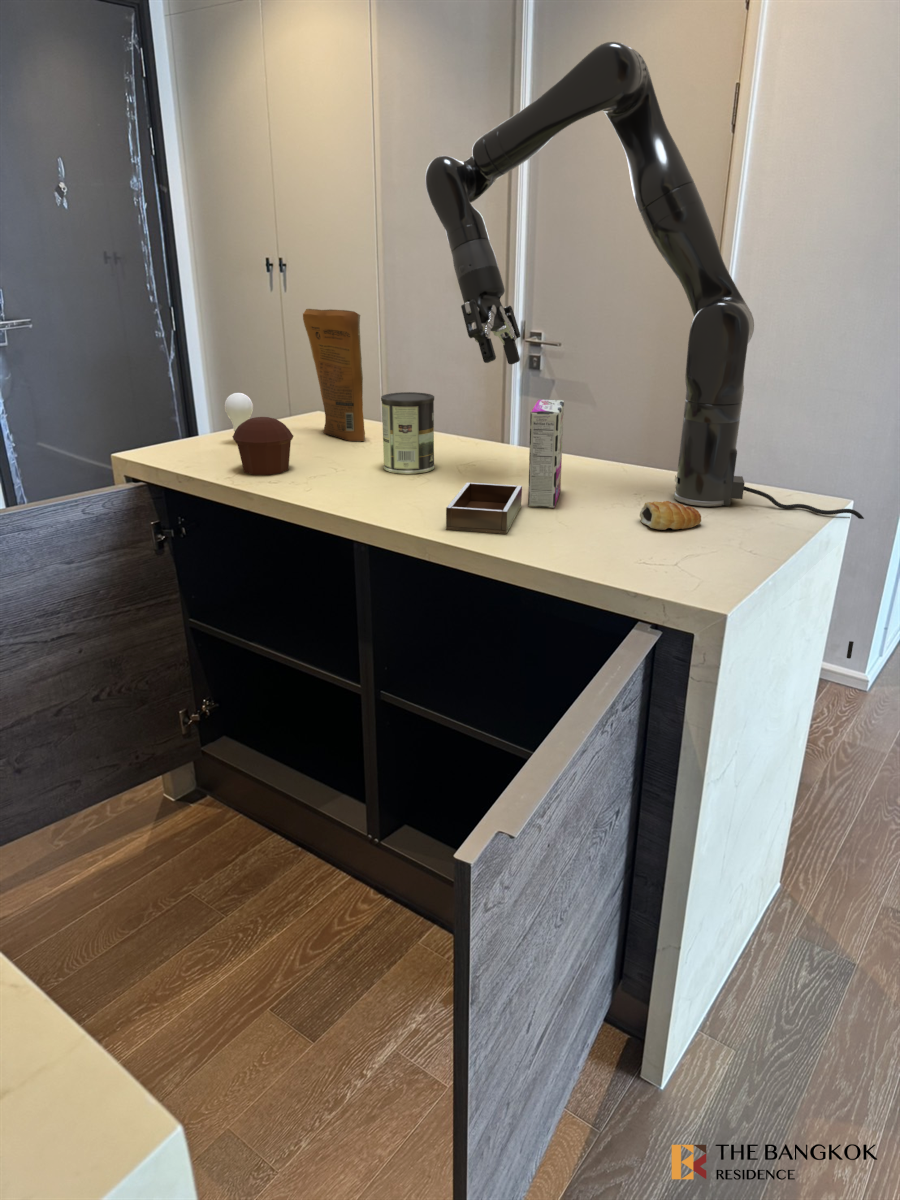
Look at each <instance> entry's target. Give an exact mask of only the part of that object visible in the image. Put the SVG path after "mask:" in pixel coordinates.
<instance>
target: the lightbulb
mask: <svg viewBox="0 0 900 1200" xmlns="http://www.w3.org/2000/svg"><path fill="white" fill-rule="evenodd" d="M224 411H225V414H226V415H227V417H228V419H229V420H230V422H231V424H232V429H233V432H235V430H236V429H237V427H238V426H239V425H240V424H242V423H243V422H245V421H246V420H248V419H251V418H252V417H251V416H252V414H253V411H254V404H253V400H252V399H251V398H250V397H249V395H247V394H245V393H242V392H233V393H231V394H230V395H228V396H227V397H226V399H225V401H224Z"/></svg>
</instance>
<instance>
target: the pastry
mask: <svg viewBox="0 0 900 1200" xmlns="http://www.w3.org/2000/svg"><path fill="white" fill-rule="evenodd" d="M639 518H640V522H641V523H642V524H643V525H645V526H648V527H649V528H651V529H655V530H657V531H660V530H661V531H662V530H665V531H666V530H667V529H672V530H679V529H681V530H684V529H691V528H694V527H696V526H697V525H700V524H701V522H702V515H701V513H700V511H699V510H698V509H696V508H695V507H693V506H691V505H690V506H689V505H687V506H685V505H684V504H683V503H680V502H679V503H677V502H672V501H669V500H663V501H647V502H645V503H644V504H643V506H642V507H641V510H640V512H639Z"/></svg>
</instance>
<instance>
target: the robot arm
mask: <svg viewBox="0 0 900 1200" xmlns="http://www.w3.org/2000/svg"><path fill="white" fill-rule="evenodd" d="M599 112H604V114H605V115H606V118H607V119H608V120H609V122H610V124H611V126H612V127H613V129H614V131H615V134H616V135H617V137H618V139H619V141H620V143H621V146H622V148H623V150H624V153H625V157H626V160H627V166H628V170H629V172H628V173H629V178H630V184H631V189H632V195H633V198H634V201H635V204H636V207H637V209H638V212H639V215H640V217H641V220H642V222H643V223H644V224H643V225H645V228H646V231H647V233H648V235H649V237H650V239H651V241H652V243H653V244H654V246H655V248H656V249H657V251H658V252H659V254H660V255H661V257H662V258H663V260H664V261H665V262H666V264H667V265H668V267H669V268H670V269H671V271H672V273H674V275H675V276H676V278H677V280H678V281H679V282H680V284H681V287H682V289H683V290H684V291H683V292H684V293H685V294H686V298H687V301H688V303H689V306H690V309H691V313H692V315H693V319H692V321H691V324H690V327H689V333H688V334H689V335H688V342H687V353H686V365H685V374H684V375H685V377H684V378H685V381H684V382H685V399H684V407H683V418H682V425H681V426H682V427H681V436H680V445H679V453H678V454H679V455H678V463H677V472H676V475H675V477H674V482H675V488H674V489H675V490H674V495H673V498H674V499H675V500H676V501H677V502H679V503H681V504H686V505H688V506H689V505H690V506H696V507H723V506H727V507H728V506H729V507H730V506H731V502H732V500H733V499H735V500H743V497H744V491H745V492H748V493H751V494H755V495H757V496H759V497H763V498H765V499H767V500H768V501H769V502H771V504H773V505H774V506H775V507H777V508H780V509H782V510H783V509H784V510H792V509H803V510H807V511H810V512H812V513H815V514H819V515H825V516H829V515H830V516H831V515H839V514H851V515H853V516H855V517H856V518H857V519H859V520H860V519H861V520H864V519H865V517H864V516H863V515H862V514H861V513H860V512H859V511H857V510H855V509H852V508H839V509H838V508H837V509H831V510H825V509H821V508H817V507H814V506H812V505H809V504H806V503H805V504H804V503H793V504H783V503H780V502H779V501H778V500H776V499H775V498H774V497H773V496H772V495H770V494H768V493H766V492H764V491H761V490H758V489H755V488H751V487H749V486H745V484H746V483H745V479H744V477H743V475H742V476H741V475H735V471H736V464H737V456H738V450H737V446H738V445H737V444H738V438H739V437H738V436H739V429H740V423H741V414H742V408H743V406H742V405H743V402H744V401H743V400H744V394H745V393H744V392H745V385H744V384H745V369H746V360H747V351H748V344H749V343H750V342H751V340H752V338H753V334H754V330H755V320H754V316H753V313H752V311H751V310H750V308H749V306H748V304H747V303H746V300H744V298H743V295H742V294H741V292H740V291H739V289H738V287H737V285H736V283H735V282H734V280H733V278H732V276H731V274H730V272H729V271H728V267H726V264H725V262H724V259H723V256H722V253H721V249H720V246H719V244H718V241H717V238H716V235H715V231H714V229H713V225H712V223H711V220H710V218H709V215H708V212H707V210H706V207H705V204H704V202H703V200H702V197H701V194H700V192H699V190H698V187H697V185H696V183H695V181H694V178H693V176H692V174H691V172H690V170H689V168H688V166H687V164H686V161H685V160H684V158H683V156H682V153H681V151H680V149H679V147H678V145H677V144H676V142H675V140H674V138H673V136H672V134H671V132H670V131H669V129H668V126H667V124H666V122H665V119H664V115H663V113H662V111H661V106H660V103H659V100H658V98H657V93H656V91H655V88H654V84H653V81H652V77H651V74H650V71H649V68H648V65H647V62H646V60H645V59H644V57H643V56H642V54H640V53H639V52H638V51H637V50H636V49H634V48H632V47H630V46H628V45H626V44H624V43H622V42H618V41H607V42H603V43H601V44H599V45H597V46H596V47H595V48H594V49H592V50H591V51H590V52H589V53H587V55H585V56H584V57H583V58H582V59H581V60H580V61H579V62H578V63H576V65H575V66H574V67H572V68H571V69H570V70H569V72H567V73H566V74H565V75H563V77H562V78H561V79H560V80H558V81H557V82H556V83H555V84H554V85H552V86H551V87H550V88H548V90H547V91H545V92H543V94H542V95H540V96H539V97H538V98H537V99H535V100H534V101H532V102H530V103H529V104H528V105H527V106H525V107H524V108H522V109H521V110H520V111H518V112H517V113H515V114H513V115H512V116H511V117H509V118H507V119H506V120H504V121H503V122H501V123H500V124H498V125H497V126H495V127H493V128H492V129H491V130H489V131H488V132H486V133H485V134H483V135H482V136H480V137H479V138H477V140H476V141H475V142H474V144H473V145H472V149H471V154H472V155H471V156H470V157H469V158H467V159H466V160H464V161H461V160H458V159H456V158H454V157H452V156H449V155H439V156H436V157H435V158H433V159H432V160H431V161H430V162H429V164H428V166H427V168H426V170H425V171H426V172H425V189H426V193H427V196H428V198H429V201H430V203H431V205H432V207H433V209H434V211H435V213H436V215H437V217H438V219H439V221H440V223H441V225H442V227H443V228H444V231H445V235H446V238H447V242H448V245H449V249H450V252H451V256H452V263H453V268H454V273H455V275H456V279H457V280H456V281H457V283H458V286H459V289H460V294H461V297H462V301H463V304H461V306H460V308H461V312H462V316H463V320H464V325H465V329H466V332H467V336H468V337H469V339H473V338H474V341H475V342H476V343H478V348H479V351H480V353H481V357H482V361H483V363H485V364H489V363H492V362H493V361H496V359H497V356H496V352H495V349H494V345H493V342H492V338H491V337H490V336H491V332H492V333H493V335H494V336H495V337H498V338H499V340H500V341H501V343H502V344H503V346H502V348H503V350H504V353H505V358H506V361H507V364H508V365H514V364H517V363H519V362H520V360H521V358H520V354H519V351H518V345H517V343H516V341H517V340H518V339H520V338H521V332H520V329H519V325H518V322H517V319H516V315H515V313H514V312H515V311H514V310H513V307H512V305H507V306H503V304H502V301H501V298H502V297H503V295H504V294H505V292H506V289H505V285H504V282H503V277H502V275H501V271H500V267H499V264H498V261H497V256H496V254H495V251H494V249H493V246H492V244H491V240H490V237H489V234H488V230H487V226H486V223H485V220H484V217H483V216H482V214H481V213H480V211H479V210H478V209H476V208H475V207H474V206H473V204H472V203H473V202H475V201H476V200H478V199H479V198H481V196H483V194H485V193H486V192H487V190H489V188H491V187H492V186H493V184H495V182H496V181H497V180H498V179H499V178H501V177H503V176H504V175H506V174H508V173H510V172H511V171H513V170H514V169H516V168H517V167H519V166H521V165H522V164H524V163H525V162H527V161H528V160H530V159H531V158H532V157H534V156H535V155H536V154H537V153H538V152H540V151H541V150H542V149H543V148H544V147H545V146H546V145H547V144H548V143H549V142H550V141H551V140H552V139H553V138H554V137H555V136H557V135H558V134H559V133H560V132H562V131H564V129H566V128H567V127H569V126H571V125H572V124H574V123H576V122H578V121H580V120H582V119H585V118H586V117H589V116H591V115H594V114H596V113H599ZM473 323H474V324H473ZM853 648H854V641H852V640H849V641H848V645H847V652H846V659H852V654H853Z"/></svg>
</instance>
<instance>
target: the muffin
mask: <svg viewBox="0 0 900 1200" xmlns="http://www.w3.org/2000/svg"><path fill="white" fill-rule="evenodd" d="M293 438H294V434H293V433H292V431H291V430H290V428H289V427H288V426H287V425H286V424H285V423H283V422H282V421H280V420H279V419H277V418H273V417H269V416H255V417H250V419H248V420H246V421H245V422H243V423H242V424H240V425H239V426H238V427H237V429H236V430H235V431H234V432H233V435H232V440H233V441H234V442H235V443H236V445H237V449H238V453H239V457H240V461H241V466H242V469H243V472H244V474H249V475H252V476H257V475H258V476H269V475H270V476H271V475H276V474H282V473H284V472H287V471H289V467H290V458H291V457H290V456H291V443H292V440H293Z"/></svg>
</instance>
